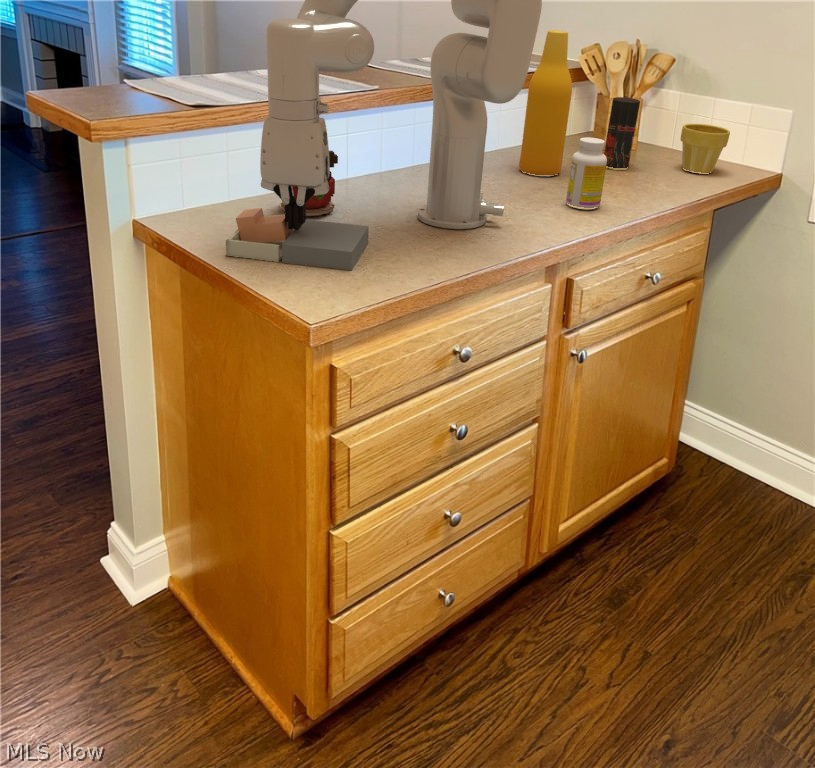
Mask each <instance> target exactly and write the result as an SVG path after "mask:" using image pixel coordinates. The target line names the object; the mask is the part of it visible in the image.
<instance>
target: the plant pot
mask: <svg viewBox="0 0 815 768" xmlns="http://www.w3.org/2000/svg"><path fill="white" fill-rule="evenodd" d="M730 135H731V131H730V130H729V129H727V128H724V127H721V126H717V125H712V124H704V123H703V124H702V123H685V124H683V125H682V129H681V134H680V142H682V151H681V152H682V154H681V155H682V157H681V159H682V162H681V163H682V166H681V167H683V168H684V169H686V170H689V171H694V172H701V173H710V172H712V173H713V171H714V169H715V168H716V164H717V163H718V160H719V158H720V156H721V153H722V151H723V149H724V148H726V147H727V146H728V143H729V139H730ZM683 168H682V169H683Z"/></svg>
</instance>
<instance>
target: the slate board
mask: <svg viewBox="0 0 815 768" xmlns="http://www.w3.org/2000/svg"><path fill="white" fill-rule="evenodd" d="M369 229H370V226H369V225H361V224H360V225H359V224H351V223H350V224H349V223H342V222H334V221H324V220H323V221H322V220H316V219H315V220H314V219H306V221H305V223H304V224H302V226H301V227H300V229H299V230H294V231H293V232H292V233H291V235H290V236H289V237H288V238H287V239H286V240H285V241H284V243H283V244H282V259H281V261H282V262H281V263H284V264H293V265H298V266H299V265H301V266H307V267H309V266H310V267H317V268H326V269H334V270H343V271H344V270H345V271H350V272H351V271H352V270H354V267H355V266H356V264H357V262H358V261H359V259H360V257H362V254H363V253H364V251H365V249H366V248H367V246H368V244H369V231H370V230H369Z"/></svg>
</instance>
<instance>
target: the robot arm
mask: <svg viewBox="0 0 815 768" xmlns="http://www.w3.org/2000/svg"><path fill="white" fill-rule="evenodd" d="M358 1H359V0H304V2H303V4H302V5H301V8H300V9H299V12H298V14H297V16H296V18H280V19H279V18H278V19H274V20H272V21H270V22H269V24H268V25H267V27H266V59H267V61H266V62H267V65H266V67H267V95H268V96H267V99H268V101H267V103H268V114H266V115H265V117H264V120H263V126H262V132H261V144H260V158H259V159H260V160H259V161H260V163H259V164H260V165H259V167H260V171H259V172H260V177H261V182H260V187H261V188H262V189H265V190H267V191H269V192H270V191H271V192H274V193H275V195H277V197H278V198H279V199H281V203H283V204H285V211H284V214H285V222H288V229H291V230H292V229H293V228H294V229H295V230H299V229H300V227H301V226H302V224H304V223H305V221H306V220H307V216H306V202H307V201H308V200H309V199H310V198H311V197H312V196H314V195H322V194H326V193H327V192H328V191H329V185H328V181H327V179H328V178H329V174H330V171H331V169H330V162H329V151H330V149H329V139H328V129H327V125H326V119H325V118H324V117H320V116H321V114H322V115H323V114H328V113H329V107H330V104H329V103H324V102H323V101H322V100H321V96H320V73H322V72H324V73H334V74H335V73H336V74H345V75H346V74H347V75H348V74H355V73H358V72H361V70H363V69H365V68H366V67H367V66H368V65H369V63H370V62H371V60H372V59H373V56H374V53H375V41H374V38H373V36H372V34H371V32H370V30H369V29H368V28H367V27H365V26H364V25H363V24H362V23H360V22H358V21H356V20H354V19H350V18H346V17H347V16H348V13H349V12H351V11H350V10H352V8H353V7H354V5H355V4H356V3H358ZM542 1H543V0H451V1H450V3H451V9H452V13H453V15H454V16H455V17H456V19H458V20H459V21H461V22H462V23H465V24H468V25H470V26H475V27H479V28H485V29H488V34H487V37H486V36H482V35H476V34H473V33H466V32H454V33H450V34H448V35H445V36H444V37H442V38H441V39H440V40H439V41H438V42H437V44H436V45H435V47H434V49H433V51H432V53H431V58H430V79H431V88H432V101H433V102H432V103H433V104H432V105H433V108H432V125H431V140H430V150H429V151H430V153H429V155H430V156H429V170H428V181H427V182H428V183H427V184H428V185H427V197H426V204H424V205H421V206H420V207H418V209H417V218H418V219H419V220H420V222H423V224H427V225H428V226H433V227H437V228H441V229H449V230H450V229H451V230H466V229H468V230H469V229H474V228H479V227H481V226H483V225H484V224H485V223H486V222H487V218H488V216H487V215H492V216H497V217H503V216H504V209H505V205H502V204H499V202H497V201H486V199H483V197H484V196H483V195H484V193H483V192H481V190H482V180H483V171H484V170H483V169H484V161H485V160H484V159H485V152H486V151H485V149H486V142H487V130H488V112H487V107H486V103H485V102H488V103H492V104H507V103H508V102H511V101H512V100H514V99H515V98H516V97H517V96H518V95H519V94H520V92H521V91H522V89H523V87H524V85H525V82H526V80H527V76H528V73H529V69H530V65H531V60H532V56H533V51H534V46H535V41H536V37H537V33H538V30H539V29H538V28H539V24H540V19H541V13H542V9H543V8H542V6H543V2H542ZM292 186H299V187H298V194H297V200H295V197H294V194H293V188H292Z"/></svg>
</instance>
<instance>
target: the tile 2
mask: <svg viewBox="0 0 815 768" xmlns="http://www.w3.org/2000/svg"><path fill="white" fill-rule="evenodd" d="M255 229H256V233H257V238H258V242H259V243H267V242H276V241H285V240H286V239H287V238H288V237H289V236H290V235H291V233H292V232H293V229H292V230H291V229H288V222H285V213H283V214H282V213H281V214H274V215H273V214H272V215H264V216H263V217H262V218H261V219H260V220H259V221H258V222H257V223H256V224H255Z"/></svg>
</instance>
